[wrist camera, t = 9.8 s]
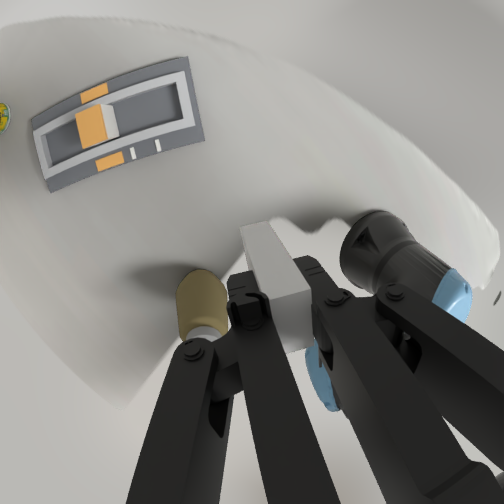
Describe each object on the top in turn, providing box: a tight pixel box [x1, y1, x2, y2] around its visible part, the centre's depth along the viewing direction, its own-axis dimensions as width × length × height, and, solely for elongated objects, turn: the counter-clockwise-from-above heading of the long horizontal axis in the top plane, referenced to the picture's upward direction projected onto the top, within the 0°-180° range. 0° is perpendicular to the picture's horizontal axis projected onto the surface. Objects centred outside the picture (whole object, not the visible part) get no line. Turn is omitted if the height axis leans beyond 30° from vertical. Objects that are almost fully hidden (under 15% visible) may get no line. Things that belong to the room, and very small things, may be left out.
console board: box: [31, 56, 205, 193], centre depth 29 cm, size 24×12×4 cm, turn 100°
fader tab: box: [75, 104, 119, 149], centre depth 26 cm, size 3×4×5 cm
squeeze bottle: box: [176, 270, 228, 342], centre depth 36 cm, size 8×8×18 cm
